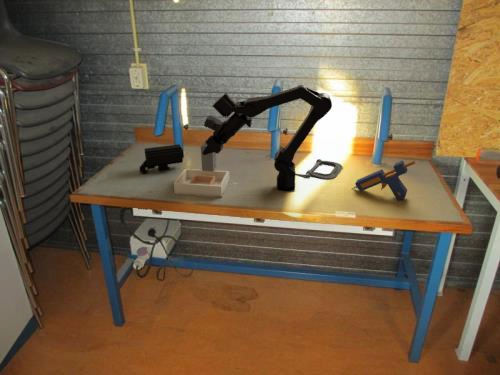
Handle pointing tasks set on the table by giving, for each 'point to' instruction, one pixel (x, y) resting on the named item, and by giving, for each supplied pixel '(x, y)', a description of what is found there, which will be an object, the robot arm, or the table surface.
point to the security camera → (161, 157)
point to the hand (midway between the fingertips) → (205, 151)
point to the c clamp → (324, 176)
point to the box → (202, 183)
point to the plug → (208, 159)
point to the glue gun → (386, 180)
